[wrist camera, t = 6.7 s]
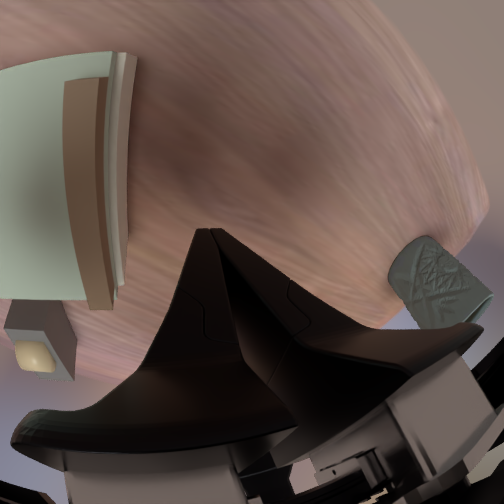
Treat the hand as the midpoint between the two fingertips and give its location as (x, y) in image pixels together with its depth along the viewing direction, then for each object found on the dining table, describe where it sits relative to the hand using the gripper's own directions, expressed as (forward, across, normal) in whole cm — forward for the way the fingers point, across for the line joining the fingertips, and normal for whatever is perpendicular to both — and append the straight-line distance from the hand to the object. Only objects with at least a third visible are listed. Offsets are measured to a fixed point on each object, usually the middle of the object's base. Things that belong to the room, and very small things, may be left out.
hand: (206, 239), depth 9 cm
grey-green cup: (+10, -29, +11) cm, 33 cm away
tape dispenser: (+9, +13, +14) cm, 21 cm away
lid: (+4, +11, 0) cm, 12 cm away
